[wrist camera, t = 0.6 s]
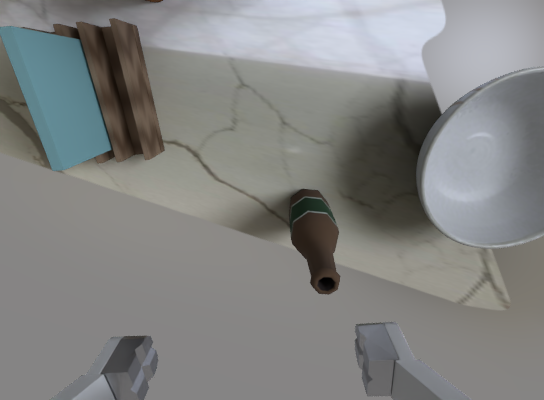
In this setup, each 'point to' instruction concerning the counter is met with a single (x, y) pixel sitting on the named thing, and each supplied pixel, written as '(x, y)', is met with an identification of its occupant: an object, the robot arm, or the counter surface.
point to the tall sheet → (58, 95)
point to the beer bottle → (315, 237)
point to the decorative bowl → (488, 164)
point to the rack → (119, 87)
